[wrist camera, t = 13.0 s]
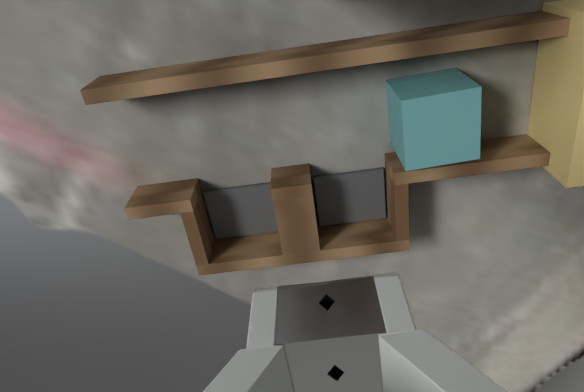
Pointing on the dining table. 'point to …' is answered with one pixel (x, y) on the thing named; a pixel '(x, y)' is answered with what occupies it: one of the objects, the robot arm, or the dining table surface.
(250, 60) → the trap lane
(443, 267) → the dining table surface
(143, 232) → the dining table surface
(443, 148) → the block
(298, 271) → the dining table surface
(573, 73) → the bumper
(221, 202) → the pads
